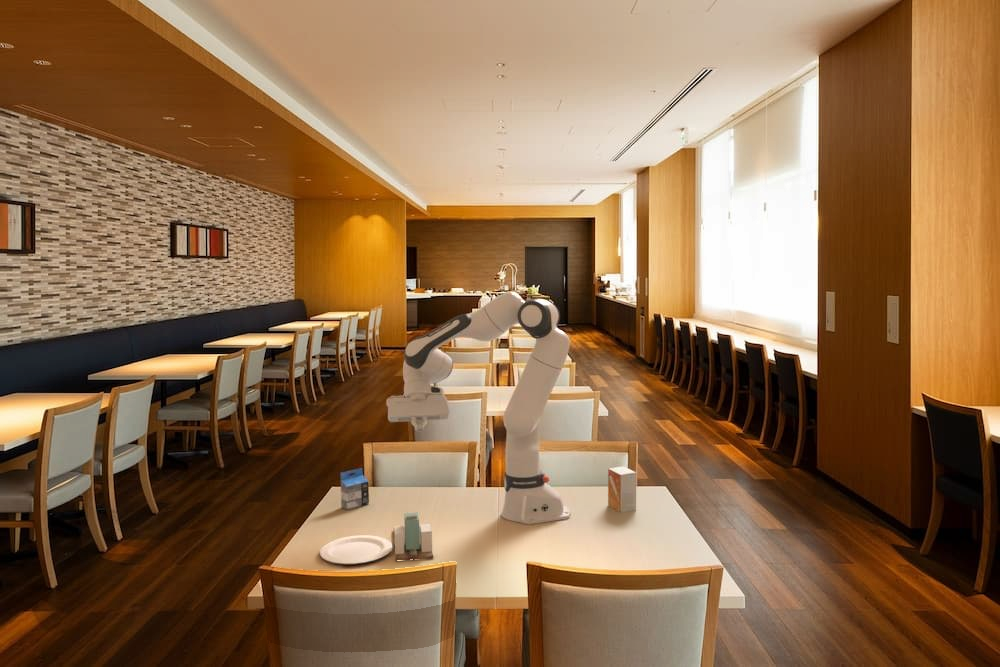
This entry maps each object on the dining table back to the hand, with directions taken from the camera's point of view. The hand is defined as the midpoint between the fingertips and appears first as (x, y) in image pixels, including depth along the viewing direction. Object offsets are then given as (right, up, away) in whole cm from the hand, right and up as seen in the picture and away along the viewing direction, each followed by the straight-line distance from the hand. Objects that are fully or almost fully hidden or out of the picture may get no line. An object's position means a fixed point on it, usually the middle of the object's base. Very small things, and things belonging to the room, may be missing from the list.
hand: (419, 430), depth 243 cm
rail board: (0, -32, -18) cm, 37 cm away
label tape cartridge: (-24, -28, +16) cm, 40 cm away
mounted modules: (+1, -31, -24) cm, 40 cm away
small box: (+67, -28, +11) cm, 73 cm away
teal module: (0, -31, -24) cm, 39 cm away
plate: (-16, -33, -24) cm, 44 cm away
